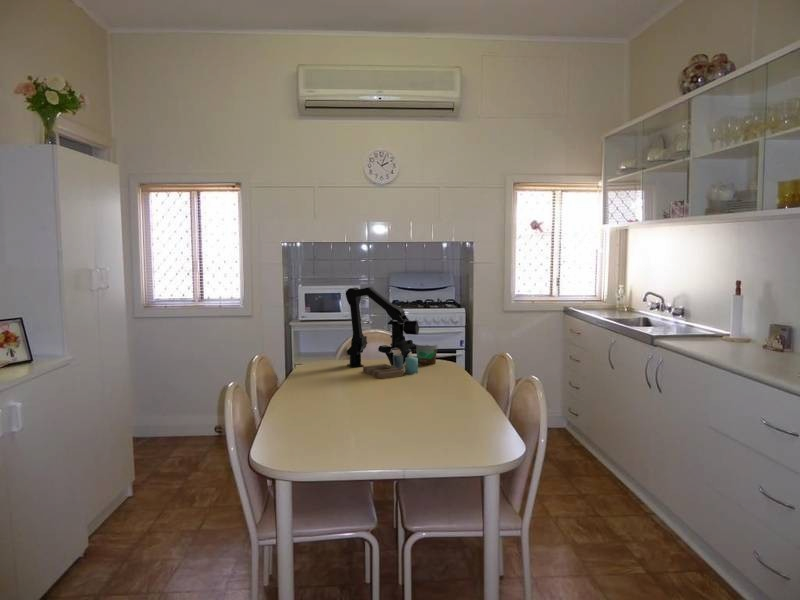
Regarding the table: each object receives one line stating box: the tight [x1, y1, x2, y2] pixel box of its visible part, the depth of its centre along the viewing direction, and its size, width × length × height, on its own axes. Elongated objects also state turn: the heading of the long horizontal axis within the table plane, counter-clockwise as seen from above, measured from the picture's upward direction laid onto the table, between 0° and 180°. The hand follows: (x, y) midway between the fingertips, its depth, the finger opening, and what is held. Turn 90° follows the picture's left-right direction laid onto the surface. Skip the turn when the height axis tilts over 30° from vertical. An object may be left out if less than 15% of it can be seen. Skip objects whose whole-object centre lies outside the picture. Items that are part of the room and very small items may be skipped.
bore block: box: [362, 363, 404, 380], centre depth 268 cm, size 18×12×2 cm, turn 30°
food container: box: [415, 343, 439, 366], centre depth 289 cm, size 12×6×10 cm, turn 73°
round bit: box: [404, 356, 419, 375], centre depth 270 cm, size 6×6×7 cm
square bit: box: [392, 353, 404, 370], centre depth 278 cm, size 4×4×7 cm
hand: (397, 365), depth 278 cm, fingers open, 6 cm apart
